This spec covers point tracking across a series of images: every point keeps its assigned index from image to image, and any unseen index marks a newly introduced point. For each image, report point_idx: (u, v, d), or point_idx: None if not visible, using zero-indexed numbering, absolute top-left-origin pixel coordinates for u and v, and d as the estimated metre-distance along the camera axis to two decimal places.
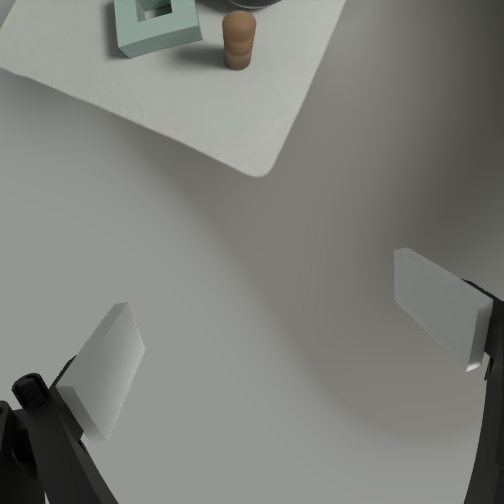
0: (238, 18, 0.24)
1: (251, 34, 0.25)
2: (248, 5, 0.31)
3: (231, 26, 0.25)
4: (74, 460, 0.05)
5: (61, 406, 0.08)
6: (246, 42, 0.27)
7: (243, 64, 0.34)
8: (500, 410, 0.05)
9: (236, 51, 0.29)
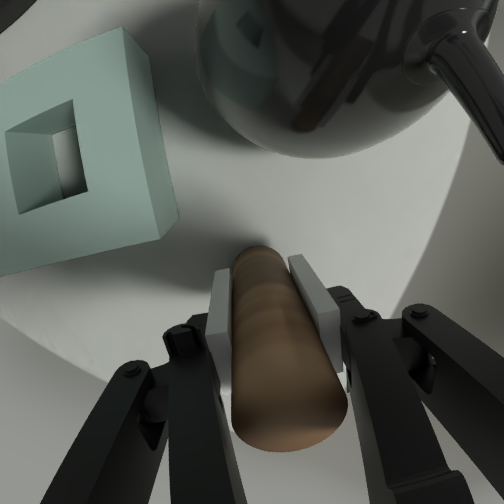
0: (288, 404, 0.08)
1: None
2: None
3: (263, 427, 0.08)
4: (213, 421, 0.07)
5: (209, 355, 0.10)
6: None
7: None
8: (373, 431, 0.05)
9: None
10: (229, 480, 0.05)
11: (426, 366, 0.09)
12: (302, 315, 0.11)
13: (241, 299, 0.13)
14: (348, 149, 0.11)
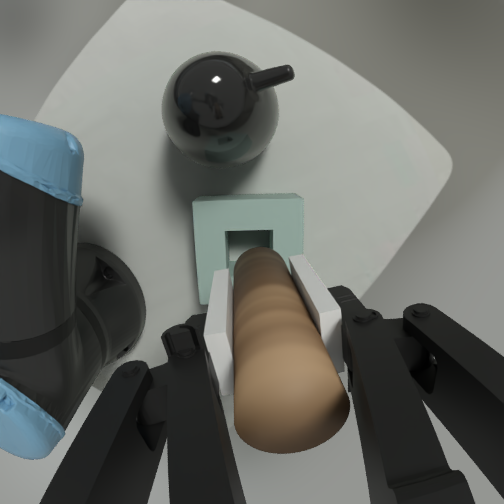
0: (290, 405, 0.08)
1: None
2: None
3: (266, 429, 0.08)
4: (212, 422, 0.07)
5: (207, 356, 0.10)
6: None
7: None
8: (374, 430, 0.05)
9: None
10: (228, 480, 0.05)
11: (427, 366, 0.09)
12: (304, 317, 0.11)
13: (243, 301, 0.13)
14: None
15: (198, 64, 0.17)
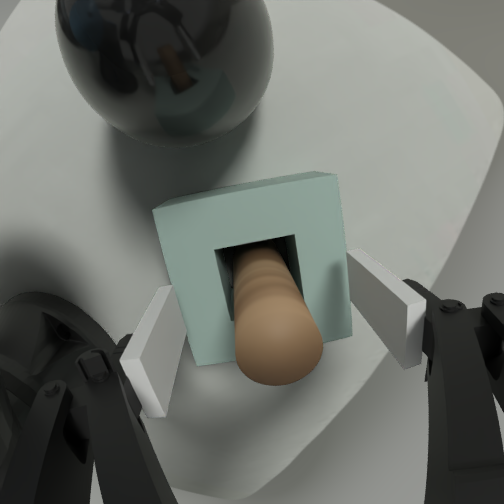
0: (277, 339, 0.11)
1: None
2: None
3: (259, 360, 0.11)
4: (132, 440, 0.06)
5: (124, 380, 0.09)
6: None
7: None
8: (446, 415, 0.05)
9: None
10: (157, 493, 0.05)
11: (497, 355, 0.08)
12: (289, 281, 0.14)
13: (241, 273, 0.16)
14: None
15: None
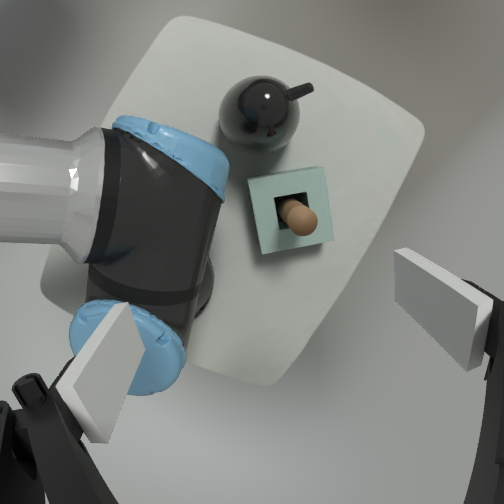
0: (302, 217, 0.35)
1: None
2: None
3: (296, 225, 0.35)
4: (74, 460, 0.05)
5: (61, 406, 0.08)
6: None
7: None
8: (500, 410, 0.05)
9: None
10: None
11: None
12: None
13: (285, 205, 0.40)
14: None
15: (256, 87, 0.28)
